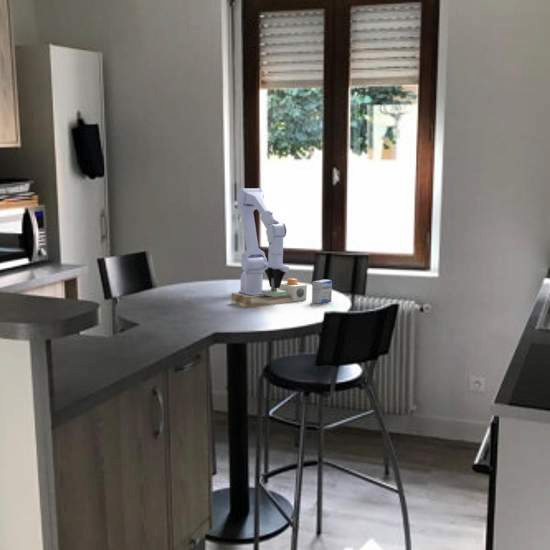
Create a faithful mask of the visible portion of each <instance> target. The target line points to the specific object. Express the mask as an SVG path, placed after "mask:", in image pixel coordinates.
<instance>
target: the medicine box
mask: <svg viewBox="0 0 550 550" xmlns="http://www.w3.org/2000/svg"><path fill="white" fill-rule="evenodd" d="M311 285H312V286H311V292H312V293H311V303H314V304H319V305H321V304H326V303H330V302H332V297H333V296H332V293H333V292H332V291H333V290H332V289H333V281H332V280H331V279H319V280H314V281H312V283H311Z"/></svg>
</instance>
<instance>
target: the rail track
mask: <svg viewBox="0 0 550 550" xmlns="http://www.w3.org/2000/svg"><path fill="white" fill-rule="evenodd" d="M291 302H294V301H293V298H291V295H286V296H279V297H271V296H267V295H263V294H259V295H246V294H243V293H242V294H241V293H238V292H232V293H231V304H233V305H237V306H240V307H245V308H254V307H255V308H256V307H261V306H268V305H275V304H277V305H278V304H283V303H291Z"/></svg>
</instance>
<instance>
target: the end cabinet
mask: <svg viewBox="0 0 550 550" xmlns="http://www.w3.org/2000/svg"><path fill="white" fill-rule="evenodd" d="M307 286H308V284H304V283H300V282H297V285H288V284H287V281H283V282H282V281H281V285H280V288H277V289H279V290H283V291H287V295H291V298H293V301H292V302H298V301H305V300H307V294H308V293H307V291H308V290H307Z"/></svg>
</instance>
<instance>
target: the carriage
mask: <svg viewBox="0 0 550 550" xmlns="http://www.w3.org/2000/svg"><path fill="white" fill-rule="evenodd" d="M260 295H267V296H271V297H279V296H286V295H287V291H283V290H279V289H278V288H275V287H274V278H271V287H270V288H268V289H266V288H265V289H262V290H261V294H260Z"/></svg>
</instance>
